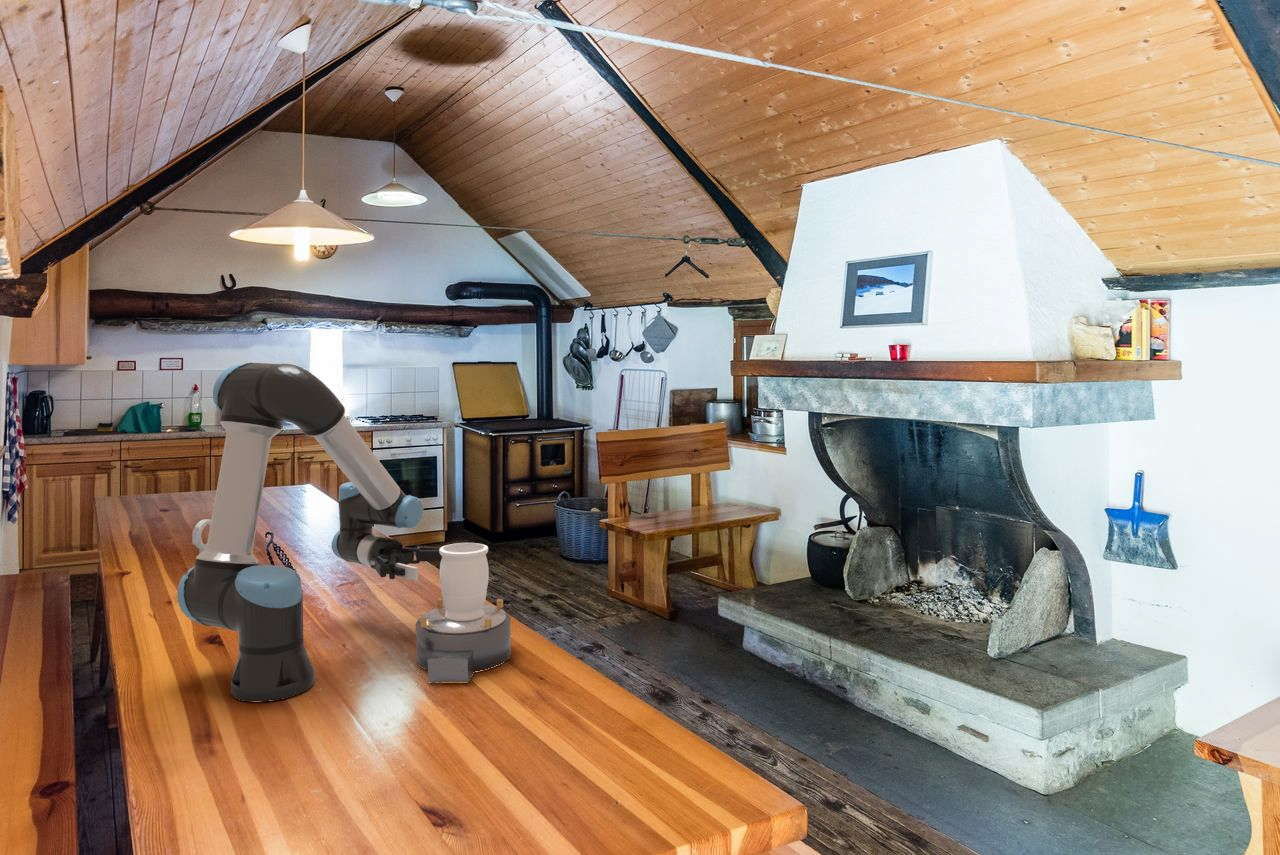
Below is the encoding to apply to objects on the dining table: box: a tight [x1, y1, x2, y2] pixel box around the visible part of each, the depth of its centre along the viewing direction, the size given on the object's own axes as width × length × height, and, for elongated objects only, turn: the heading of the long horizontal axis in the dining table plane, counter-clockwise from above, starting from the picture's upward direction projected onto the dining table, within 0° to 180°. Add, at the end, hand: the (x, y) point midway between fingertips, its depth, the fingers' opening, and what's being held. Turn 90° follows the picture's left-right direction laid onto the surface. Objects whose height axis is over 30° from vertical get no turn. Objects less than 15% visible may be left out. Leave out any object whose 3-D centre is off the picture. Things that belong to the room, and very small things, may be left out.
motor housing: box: [415, 598, 512, 683], centre depth 179 cm, size 24×20×11 cm
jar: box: [439, 542, 490, 621], centre depth 181 cm, size 11×10×15 cm
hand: (441, 567), depth 184 cm, fingers open, 13 cm apart
